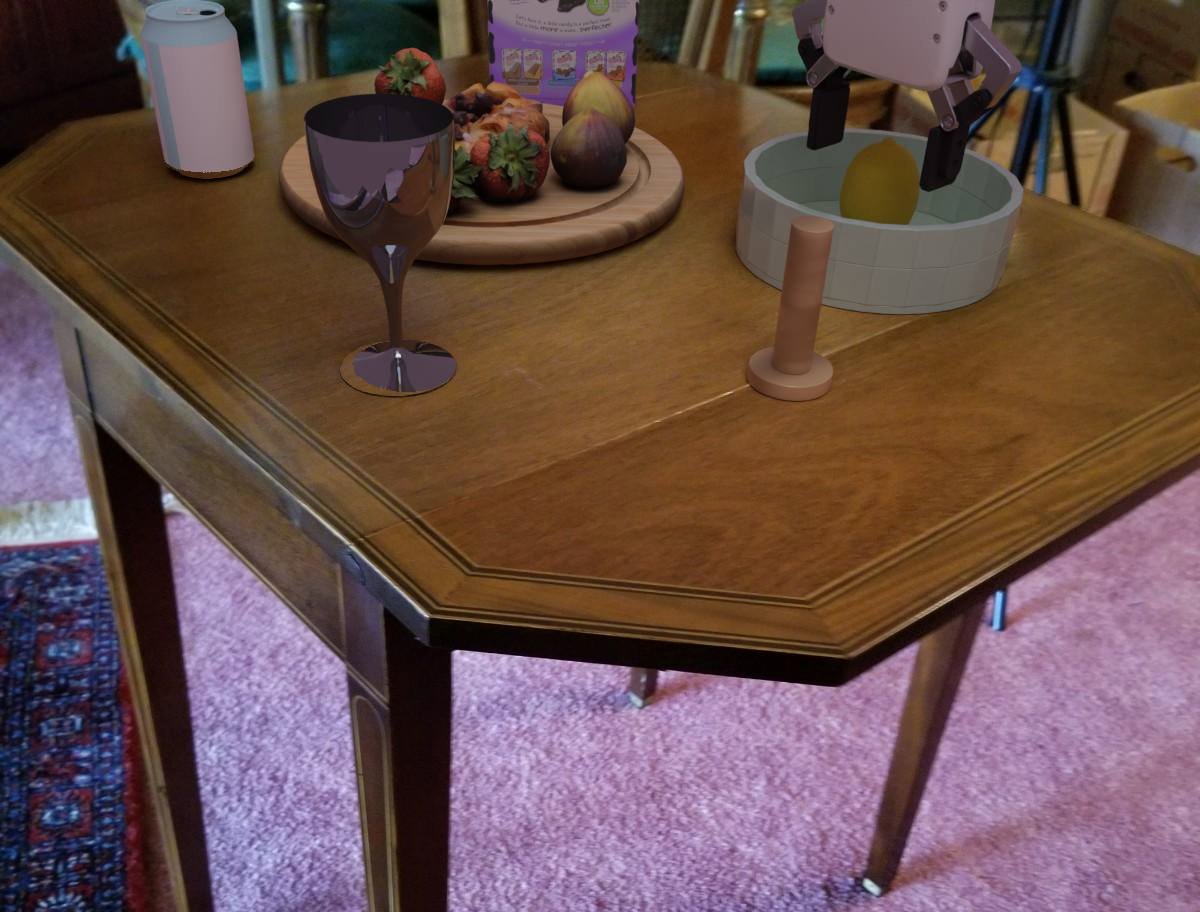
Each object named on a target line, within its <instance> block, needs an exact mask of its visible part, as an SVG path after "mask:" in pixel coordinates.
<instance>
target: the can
mask: <svg viewBox="0 0 1200 912" xmlns="http://www.w3.org/2000/svg"><path fill="white" fill-rule="evenodd" d="M225 9H226V8H225V7H224V6H223V5H221V4H219V3H218V2H214V1H210V0H165V1H161V2H157V3H154V4H151V5H149V6H147V7H146V8H145V10H144V14H145V17H146V19H145V21H144V23H143V25H142V28H141V30H140V34H139V36H140V41H141V46H142V47H141V48H142V51H143V56H144V57H143V58H144V62H145V67H146V72H147V77H148V82H149V83H148V84H149V88H150V92H151V98H152V103H153V108H154V115H155V118H156V123H157V130H158V134H159V139H160V145H161V150H162V156H163V160H165V161H164V163H165V162H166V163H167V164H169V165H170V166H172V167H174V168H176V169H179V170H180V169H181V170H184V171H191V172H203V173H205V172H206V173H207V172H209V173H210V172H221V171H229V170H234V169H237V168H240V167H243V166H244V165H246V164H248V163H250V162H251V161H252V160H253V158H254V156H255V149H254V143H253V135H252V129H251V123H250V117H249V109H248V102H247V95H246V87H245V81H244V80H245V79H244V73H243V66H242V60H241V54H240V47H239V40H238V32H237V30H236V28H235V26H234V25H233V24H232V23H231V21H230V20H229V19H228V17H227V16H226V14H225ZM254 159H255V158H254ZM253 161H254V160H253Z"/></svg>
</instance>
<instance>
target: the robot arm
mask: <svg viewBox="0 0 1200 912" xmlns="http://www.w3.org/2000/svg"><path fill="white" fill-rule="evenodd" d="M995 5H996V0H806V1H804V2H802V3H800V4H797V5H795V6H794V7H793V9H792V12H791V14H792V15H791V16H792V20H793V25H794V30H795V33H796V34H795V35H796V39H798V41H799V42H798V44H797V52H798V55H799V57H800V59H801V61H802V64H803V66H804V67H805V69H806V71H807V72H806V75H805V81H806V84H807V86H809V87H810V88H812V95H811V103H810V109H809V118H808V130H807V131H808V137H807V148H808V149H811V150H818V149H821V148H824V147H828V146H831V145H834V144H837V143H840V142H841V141H842V140H843V136H844V129H846V122H847V114H848V108H849V102H850V94H851V87H850V86H851V83H850V82H848V81H845V80H844V79H845V78H846V77H847V76H848V74H850V72H851V71H854V72H857V73H860V74H863V75H867V76H870V77H873V78H876V79H880V80H883V81H887V82H889V83H893V84H897V85H899V86H903V87H906V88H910V89H912V90H913V89H914V90H917V91H921V92H926V93H927V96H928V98H929V100H930V103H931V105H932V108H933V111H934V114H935V116H936V118H937V121H938V125H937V126H934V127H931V129H930V130H929V132H928V136H927V138H928V141H927V146H926V151H925V156H924V161H923V167H922V172H921V177H920V182H919V186H920V188H921V190H924V191H927V192H931V191H933V190H936V189H939V188H942V187H944V186H947V185H950V184H952V183H954V181H955V180H956V177H957V175H958V174H959V172H960V170H961V167H962V162H963V157H964V152H965V148H966V147H967V142H968V137H969V133H970V129H971V125H973V124H976V123H978V122H979V121H980V119H981V118H982V117H983V116H985V115H986V114H988V112H991V111H992V110H993V109H995V108H996V107H997V106H998V105H1000V103H1001V102H1002V101H1003V100H1002V99H1003V96H1004V95H1005V94H1007V92H1008V91H1009V89H1010V88H1011V87H1012V85H1013V84H1014V83H1015V81H1016V80H1017V79H1018V77H1019V76H1020V75H1021V73H1022V69H1023V65H1022V62H1021V61H1020V59H1019V58H1017V57H1016V56H1015V54H1014V53H1012V51H1011V50H1010V48H1008V47H1007V46H1006V45H1005V44H1004V42H1002V40H1001V39H1000V38H999V37H998V36H997V35H996V34H995V33H994V32H993V31H992V24H993V18H994V12H995ZM822 21H823V28H822ZM983 70H984V73H985V75H984V78H983V80H982V82H981V83H980V85H979V86H978V89H977V90H975V89H974V87H973V84H972V82H971V80H974V79H977V78H978V77H979V76H980V75H981V73H982V71H983ZM966 149H967V148H966Z"/></svg>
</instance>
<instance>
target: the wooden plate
mask: <svg viewBox="0 0 1200 912" xmlns="http://www.w3.org/2000/svg"><path fill="white" fill-rule="evenodd" d="M377 67H378V68H380V70H379V73H378V74H377V75H376V76H375V79H374V83H373V86H374V94H400V95H408V96H415V97H420V98H425V99H428V100H432V101H435V102H437V103H440V104H442V105H444V106H445V107H447V108H448V109H449V110H450V111H451V112H452V114H453V118H454V135H455V169H454V179H453V188H452V194H451V199H450V204H449V209H448V212H447V215H446V218H445V220H444V223H443V224H442V226H441V228H440V229H439V231H438V232H437V234H436V235H435V236H434V237H433V238H432V239H431V241H430V242H429V243H428V244H427V245H426V246H425V248H424V249H423V250H422V251H421V252H420V254H419V255H418V256H417V257H416V258H415V260H417V261H425V262H434V263H441V264H442V263H443V264H453V265H475V266H478V265H479V266H498V265H507V266H508V265H525V264H538V263H548V262H555V261H556V262H557V261H563V260H569V259H577V258H582V257H586V256H591V255H596V254H599V253H604V252H607V251H611V250H614V249H617V248H620V247H623V246H625V245H628V244H630V243H632V242H634V241H637V240H639V239H642V238H643V237H645V236H646V235H649V234H651V233H653V231H655V230H657V229H658V228H660V227H662V226H663V225H664V224H665V223H666V222H668V221H669V220H670V219H671V218H672V217H673V215H674V213H675V212H676V211H677V210H678V208H679V206H680V205H681V203H682V201H683V197H684V193H685V189H686V187H685V186H686V179H685V175H684V170H683V168H682V166H681V164H680V162H679V160H678V158H677V157H676V155H674V153H673V152H672V151H671V150H670V149H669V148H668V147H667V146H665V144H663V143H662V142H661V141H659V139H656V138H655V137H653V136H652V135H651V134H649V133H647V132H646V131H644V130H643V129H639V128H638V127H635V126H636V115H635V110H634V108H633V107H632V105H631V103H630V101H629V100H628V98H627V97H626V95H625V94H624V92H623V91H622V90H621V89H620V88H619V87H618V86H617V85H616V84H615V83H614V82H613V81H612V80H610V79H609V78H608V77H606V76H605V75H603V74H601V73H599V72H596V71H595V72H594V71H592V70H590V71H588V72H586V73H585V74H584V75H583V76H582V77H581V78H580V80H579V81H578V82H577V83H576V85H575V86H574V87H573V88H572V90H571V91H570V92H569V94H568V96H567V98H566V101H565V103H564V106H558V105H551V104H544V103H540V102H539V101H536V100H531V99H526V98H524V97H520V95H519V94H518V93H517V91H516V90H515V89H514V88H512V87H510V86H508V85H507V84H504V83H498V82H495V81H493V82H492V83H490V84H487V86H486V88H484V86H483V83H481V82H480V83H479V82H478V83H474V84H472V85H471V86H470V87H468V88H466V89H465V90H463V91H461V92H458V93H457V94H455V95H454V96H453V97H451V98H450V99H448V98H447V99H445V97H446V93H447V85H446V82H445V78H444V77H443V75H442V73H441V71H440V69H439V67H438V65H437V63H436V62H435V61H434V59H433V58H432V57H431V56H430V55H429V54H428V53H427V52H424V51H422V50H420V49H418V48H417V47H416V48H415V47H410V48H402V49H401V50H399V51H397V52H396V53H395V54H391V55H390V57H389V62H387V63H386V65H385V66H383V65H377ZM278 184H279V188H280V191H281V194H282V195H283V197H284V199H285V201H286V203H287V204H288V206H290V208H291V210H293V211H294V213H295V214H296V215H298V216H299V217H300V218H301V219H302V220H303V221H304V222H305V223H307V224H308V225H310V226H311V227H313V228H315V229H316V230H318V231H320V232H322V233H324V234H326V235H328V236H331V237H332V238H335V239H336V240H340V241H342V242H345V241H344V240H343V239H342V238H341V237H340V236H339V235H338V234H337V233H336V231H335V230H334V229H333V228H332V226H331V225H330V224H329V222H328V220H327V218H326V216H325V214H324V212H323V209H322V206H321V203H320V200H319V198H318V195H317V191H316V188H315V184H314V180H313V176H312V172H311V169H310V163H309V157H308V151H307V145H306V136H305V135H303V136H302V137H300V138H299V139H298V140H296V142H295V143H293V145H292V146H291V147H290V148H289V149H288V151H287V152H286V153H285V155H284V156H283V157H282V160H281V163H280V165H279V171H278ZM345 243H346V242H345Z"/></svg>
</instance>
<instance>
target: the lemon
mask: <svg viewBox="0 0 1200 912" xmlns="http://www.w3.org/2000/svg"><path fill="white" fill-rule="evenodd" d="M919 182H920V179H919V171H918V167H917V164H916V161H915V159H914V157H913V156H912V155H911V153H910V152H909V151H908V150H907V149H906V148H904V147H903V146H901V145H899V144H897V143H896V141H895V140H894V139H893V138H885V139H884V140H882V141H881V142H876V143H873V144H871V145H869V146H867V147H865V148H864V149H862V150H861V151H860V152H859V153H858V154H857V155H856V156H855V157H854V158H853V159H852V161H851V163H850V165H849V167H848V169H847V171H846V173H845V176H844V179H843V183H842V187H841V191H840V201H839V202H840V213H841V217H843V218H848V219H854V220H861V221H867V222H873V223H880V224H896V225H908V224H909V222H910V220H911V218H912V216H913V214H914V212H915V209H916V206H917V203H918V198H919V190H920V186H919Z"/></svg>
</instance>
